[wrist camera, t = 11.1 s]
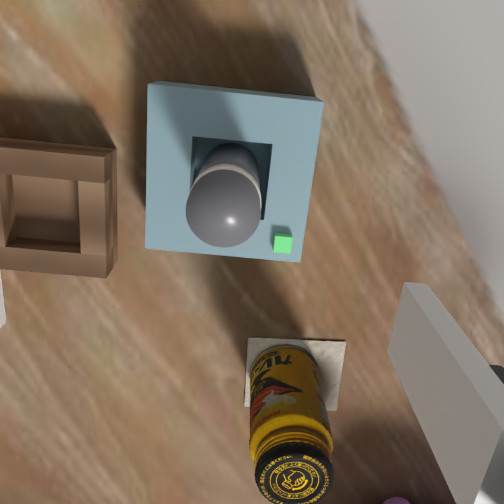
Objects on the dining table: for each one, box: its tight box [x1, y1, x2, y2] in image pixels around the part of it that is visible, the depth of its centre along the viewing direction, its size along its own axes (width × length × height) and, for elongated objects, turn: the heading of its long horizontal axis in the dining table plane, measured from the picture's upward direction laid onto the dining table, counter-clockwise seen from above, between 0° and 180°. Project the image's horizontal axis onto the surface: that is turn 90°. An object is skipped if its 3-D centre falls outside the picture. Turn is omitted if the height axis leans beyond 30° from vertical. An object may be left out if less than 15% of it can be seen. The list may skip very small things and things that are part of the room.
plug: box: [186, 143, 261, 248], centre depth 30 cm, size 4×4×10 cm
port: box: [145, 81, 324, 262], centre depth 33 cm, size 11×11×5 cm
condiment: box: [244, 338, 346, 504], centre depth 37 cm, size 7×8×12 cm
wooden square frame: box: [0, 137, 117, 278], centre depth 35 cm, size 9×9×3 cm
